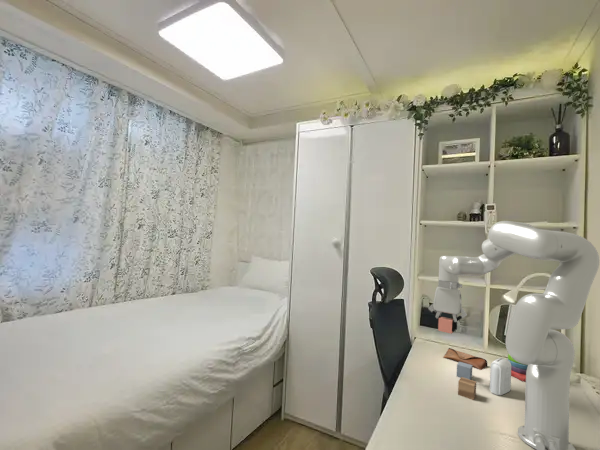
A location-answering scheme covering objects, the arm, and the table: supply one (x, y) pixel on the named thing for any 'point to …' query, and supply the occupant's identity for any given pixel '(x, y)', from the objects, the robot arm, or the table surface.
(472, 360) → the sunglasses case
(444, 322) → the pink cube
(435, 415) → the table surface
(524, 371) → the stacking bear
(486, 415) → the table surface
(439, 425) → the table surface
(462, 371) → the slate block
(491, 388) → the photo printer
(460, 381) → the tan block
